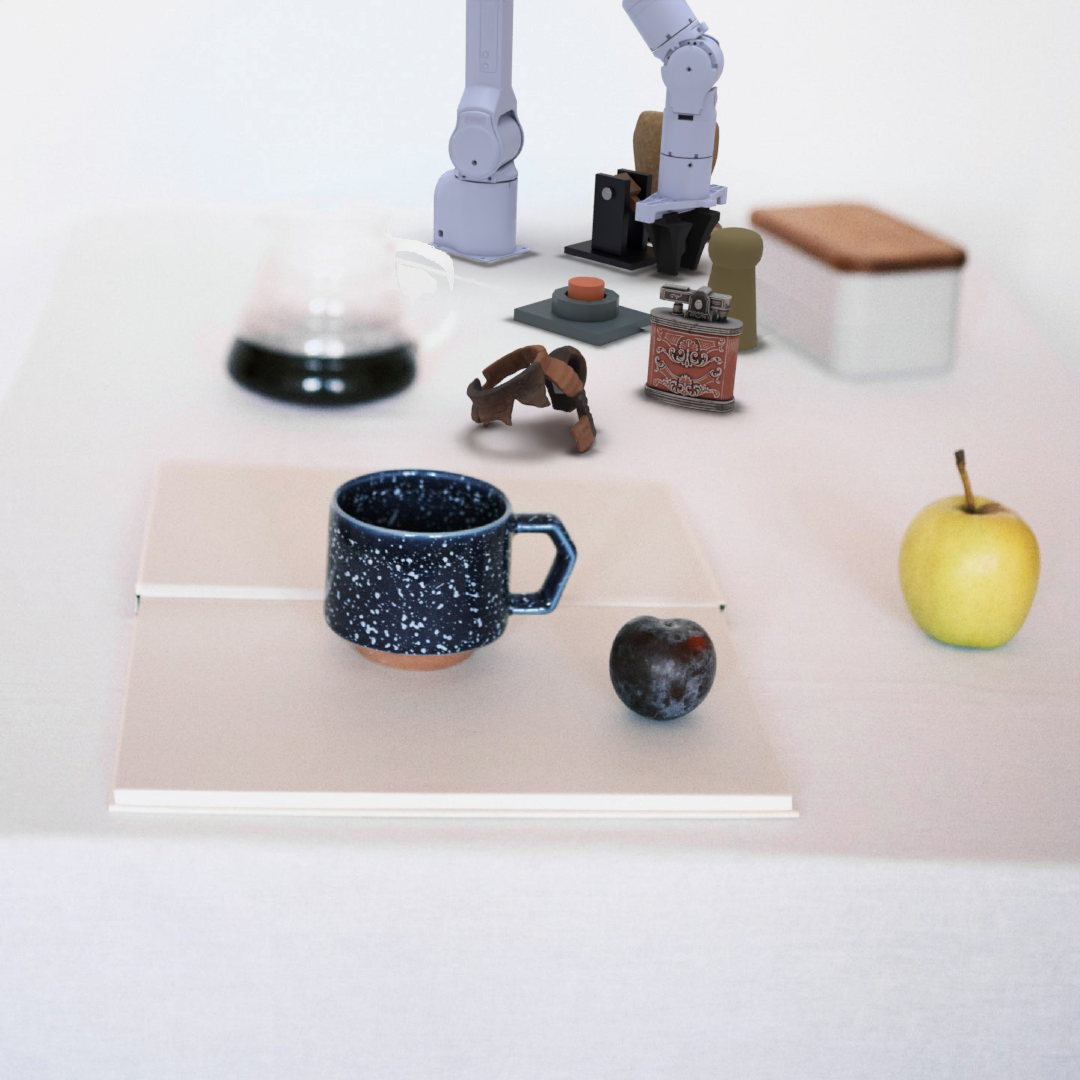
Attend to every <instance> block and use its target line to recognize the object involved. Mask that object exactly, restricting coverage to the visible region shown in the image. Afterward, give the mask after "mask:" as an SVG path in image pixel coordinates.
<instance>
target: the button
mask: <svg viewBox="0 0 1080 1080" xmlns="http://www.w3.org/2000/svg"><path fill="white" fill-rule="evenodd" d="M567 286H568V298H572V299H575V300H584V301H595V300H601V299H604V288H606V282H605V281H604V279H602V278H599V277H594V276H585V275H584V276H583V275H582V276H574V277H571V278H569V279H568V281H567Z"/></svg>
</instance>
